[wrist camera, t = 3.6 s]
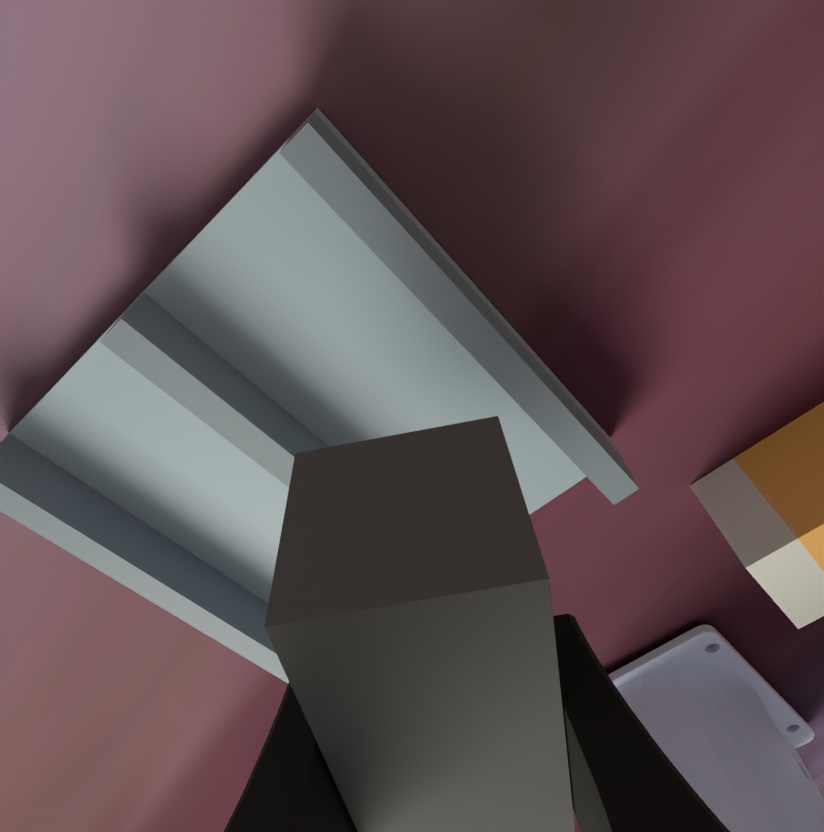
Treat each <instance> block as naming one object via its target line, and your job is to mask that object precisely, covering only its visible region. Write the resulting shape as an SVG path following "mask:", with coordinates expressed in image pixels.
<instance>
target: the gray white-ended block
mask: <svg viewBox="0 0 824 832" xmlns="http://www.w3.org/2000/svg"><path fill="white" fill-rule="evenodd" d="M264 627H265V630H266V632H267V634H268V636H269V638H270V641H271V643H272V645H273V647H274V649H275V652H276V654H277V656H278V658H279V660H280V663H281V665H282V667H283V669H284V671H285V674H286V676H287V678H288V680H289V682H290V684H291V687H292V689H293V691H294V693H295V695H296V698H297V700H298V702H299V704H300V706H301V709H302V711H303V713H304V715H305V717H306V720H307V722H308V724H309V726H310V728H311V730H312V733H313V735H314V737H315V739H316V741H317V744H318V746H319V748H320V750H321V752H322V755H323V757H324V759H325V761H326V763H327V766H328V768H329V770H330V772H331V774H332V777H333V779H334V781H335V783H336V785H337V787H338V790H339V792H340V794H341V796H342V798H343V801H344V803H345V805H346V807H347V809H348V812H349V814H350V816H351V818H352V820H353V823H354V825H355V827H356V829H357V831H358V832H575V825H574V816H573V806H572V796H571V786H570V776H569V767H568V757H567V747H566V737H565V727H564V718H563V708H562V698H561V688H560V678H559V669H558V659H557V649H556V639H555V629H554V620H553V610H552V600H551V590H550V580H549V576H548V573H547V570H546V566H545V563H544V560H543V557H542V554H541V551H540V547H539V544H538V541H537V538H536V535H535V532H534V528H533V525H532V522H531V519H530V516H529V513H528V509H527V506H526V503H525V500H524V497H523V494H522V490H521V487H520V484H519V481H518V478H517V474H516V471H515V468H514V465H513V462H512V459H511V455H510V452H509V449H508V446H507V443H506V440H505V436H504V433H503V430H502V427H501V424H500V421H499V417H498V416H494V417H489V418H483V419H478V420H473V421H467V422H462V423H456V424H451V425H445V426H440V427H435V428H429V429H424V430H418V431H413V432H408V433H402V434H397V435H391V436H386V437H380V438H375V439H370V440H364V441H359V442H353V443H348V444H343V445H337V446H332V447H326V448H321V449H315V450H310V451H305V452H299V453H295V457H294V463H293V468H292V474H291V480H290V485H289V491H288V497H287V502H286V508H285V514H284V519H283V525H282V530H281V536H280V542H279V547H278V553H277V559H276V564H275V570H274V575H273V581H272V587H271V592H270V598H269V604H268V609H267V615H266V621H265V626H264Z"/></svg>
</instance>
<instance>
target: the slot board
mask: <svg viewBox="0 0 824 832" xmlns="http://www.w3.org/2000/svg"><path fill="white" fill-rule="evenodd" d="M494 416H498V417H499V421H500V424H501V427H502V430H503V433H504V436H505V440H506V443H507V446H508V449H509V452H510V455H511V459H512V462H513V465H514V468H515V471H516V474H517V478H518V481H519V484H520V487H521V490H522V494H523V497H524V500H525V503H526V506H527V509H528V513H529V515H530V514H531V513H533V512H534V511H536V510H537V509H539V508H540V507H542V506H543V505H545V504H546V503H548V502H549V501H551V500H552V499H554V498H555V497H557V496H558V495H560V494H561V493H563V492H564V491H566V490H567V489H569V488H570V487H572V486H573V485H575V484H576V483H578V482H579V481H581V480H582V479H584V478H585V477H586V476H587V477H588V478H589V479H590V480H591V481H592V483H593V484H594V485H595V486H596V487H597V488H598V489H599V490H600V491H601V492H602V493H603V494H604V495H605V496H606V497H607V498H608V499H609V500H610V501H611V503H612V504H613V505H615V504H616V503H618V502H619V501H621V500H623V499H624V498H626V497H627V496H629V495H630V494H632V493H633V492H635V491H637V490H638V489H639V487H638V485H637V483H636V482H635V480H634V478H633V476H632V475H631V473H630V471H629V469H628V468H627V466H626V464H625V462H624V460H623V459H622V457H621V455H620V453H619V452H618V450H617V448H616V446H615V444H614V443H613V441H612V439H611V438H610V437H609V436H608V434H607V433H606V432H605V431H604V430H603V429H602V428H601V427H600V425H599V424H598V423H597V422H596V421H595V420H594V419H593V418H592V416H591V415H590V414H589V413H588V412H587V411H586V410H585V409H584V407H583V406H582V405H581V404H580V403H579V402H578V401H577V399H576V398H575V397H574V396H573V395H572V394H571V393H570V392H569V390H568V389H567V388H566V387H565V386H564V385H563V384H562V383H561V381H560V380H559V379H558V378H557V377H556V376H555V375H554V374H553V372H552V371H551V370H550V369H549V368H548V367H547V366H546V365H545V363H544V362H543V361H542V360H541V359H540V358H539V357H538V355H537V354H536V353H535V352H534V351H533V350H532V349H531V348H530V346H529V345H528V344H527V343H526V342H525V341H524V340H523V339H522V337H521V336H520V335H519V334H518V333H517V332H516V331H515V330H514V328H513V327H512V326H511V325H510V324H509V323H508V322H507V321H506V319H505V318H504V317H503V316H502V315H501V314H500V313H499V311H498V310H497V309H496V308H495V307H494V306H493V305H492V304H491V302H490V301H489V300H488V299H487V298H486V297H485V296H484V295H483V293H482V292H481V291H480V290H479V289H478V288H477V287H476V286H475V284H474V283H473V282H472V281H471V280H470V279H469V278H468V277H467V275H466V274H465V273H464V272H463V271H462V270H461V269H460V268H459V266H458V265H457V264H456V263H455V262H454V261H453V260H452V258H451V257H450V256H449V255H448V254H447V253H446V252H445V251H444V249H443V248H442V247H441V246H440V245H439V244H438V243H437V242H436V240H435V239H434V238H433V237H432V236H431V235H430V234H429V233H428V231H427V230H426V229H425V228H424V227H423V226H422V225H421V224H420V222H419V221H418V220H417V219H416V218H415V217H414V216H413V214H412V213H411V212H410V211H409V210H408V209H407V208H406V207H405V205H404V204H403V203H402V202H401V201H400V200H399V199H398V198H397V196H396V195H395V194H394V193H393V192H392V191H391V190H390V189H389V187H388V186H387V185H386V184H385V183H384V182H383V181H382V180H381V178H380V177H379V176H378V175H377V174H376V173H375V172H374V171H373V169H372V168H371V167H370V166H369V165H368V164H367V163H366V161H365V160H364V159H363V158H362V157H361V156H360V155H359V154H358V152H357V151H356V150H355V149H354V148H353V147H352V146H351V145H350V143H349V142H348V141H347V140H346V139H345V138H344V137H343V136H342V134H341V133H340V132H339V131H338V130H337V129H336V128H335V127H334V125H333V124H332V123H331V122H330V121H329V120H328V119H327V117H326V116H325V115H324V114H323V113H322V112H321V111H320V110H319V108H318V107H317V109H316V110H315V111H314V112H313V113H312V114H311V115H310V116H309V117H308V118H307V119H306V120H305V121H304V122H303V123H302V124H301V125H300V126H299V127H298V129H297V130H296V131H295V132H294V133H293V134H292V135H291V136H290V137H289V138H288V139H287V140H286V141H285V142H284V143H283V144H282V145H281V146H280V148H279V149H278V150H277V151H276V152H275V153H274V154H273V155H272V156H271V157H270V158H269V159H268V160H267V161H266V162H265V163H264V164H263V165H262V166H261V168H260V169H259V170H258V171H257V172H256V173H255V174H254V175H253V176H252V177H251V178H250V179H249V180H248V181H247V182H246V183H245V184H244V185H243V187H242V188H241V189H240V190H239V191H238V192H237V193H236V194H235V195H234V196H233V197H232V198H231V199H230V200H229V201H228V202H227V203H226V204H225V205H224V207H223V208H222V209H221V210H220V211H219V212H218V213H217V214H216V215H215V216H214V217H213V218H212V219H211V220H210V221H209V222H208V223H207V224H206V226H205V227H204V228H203V229H202V230H201V231H200V232H199V233H198V234H197V235H196V236H195V237H194V238H193V239H192V240H191V241H190V242H189V243H188V245H187V246H186V247H185V248H184V249H183V250H182V251H181V252H180V253H179V254H178V255H177V256H176V257H175V258H174V259H173V260H172V261H171V262H170V263H169V265H168V266H167V267H166V268H165V269H164V270H163V271H162V272H161V273H160V274H159V275H158V276H157V277H156V278H155V279H154V280H153V281H152V282H151V284H150V285H149V286H148V287H147V288H146V289H145V290H144V291H143V292H142V293H141V294H140V295H139V296H138V297H137V298H136V299H135V300H134V301H133V302H132V304H131V305H130V306H129V307H128V308H127V309H126V310H125V311H124V312H123V313H122V314H121V315H120V316H119V317H118V318H117V319H116V320H115V321H114V323H113V324H112V325H111V326H110V327H109V328H108V329H107V330H106V331H105V332H104V333H103V334H102V335H101V336H100V337H99V338H98V339H97V340H96V341H95V343H94V344H93V345H92V346H91V347H90V348H89V349H88V350H87V351H86V352H85V353H84V354H83V355H82V356H81V357H80V358H79V359H78V360H77V362H76V363H75V364H74V365H73V366H72V367H71V368H70V369H69V370H68V371H67V372H66V373H65V374H64V375H63V376H62V377H61V378H60V379H59V381H58V382H57V383H56V384H55V385H54V386H53V387H52V388H51V389H50V390H49V391H48V392H47V393H46V394H45V395H44V396H43V397H42V398H41V399H40V401H39V402H38V403H37V404H36V405H35V406H34V407H33V408H32V409H31V410H30V411H29V412H28V413H27V414H26V415H25V416H24V417H23V418H22V420H21V421H20V422H19V423H18V424H17V425H16V426H15V427H14V428H13V429H12V430H11V431H10V432H9V433H8V434H7V435H6V437H5V438H4V439H3V440H2V441H1V442H0V511H1V512H3V513H4V514H6V515H8V516H9V517H11V518H13V519H14V520H16V521H18V522H19V523H21V524H23V525H24V526H26V527H28V528H29V529H31V530H33V531H34V532H36V533H38V534H39V535H41V536H43V537H44V538H46V539H48V540H49V541H51V542H53V543H54V544H56V545H58V546H59V547H61V548H63V549H64V550H66V551H68V552H69V553H71V554H73V555H74V556H76V557H78V558H79V559H81V560H83V561H84V562H86V563H88V564H90V565H91V566H93V567H95V568H96V569H98V570H100V571H101V572H103V573H105V574H106V575H108V576H110V577H111V578H113V579H115V580H116V581H118V582H120V583H121V584H123V585H125V586H126V587H128V588H130V589H131V590H133V591H135V592H136V593H138V594H140V595H141V596H143V597H145V598H146V599H148V600H150V601H151V602H153V603H155V604H156V605H158V606H160V607H161V608H163V609H165V610H166V611H168V612H170V613H171V614H173V615H175V616H176V617H178V618H180V619H181V620H183V621H185V622H186V623H188V624H190V625H191V626H193V627H195V628H196V629H198V630H200V631H201V632H203V633H205V634H206V635H208V636H210V637H211V638H213V639H215V640H216V641H218V642H220V643H221V644H223V645H225V646H226V647H228V648H230V649H231V650H233V651H235V652H236V653H238V654H240V655H241V656H243V657H245V658H247V659H248V660H250V661H252V662H253V663H255V664H257V665H258V666H260V667H262V668H263V669H265V670H267V671H268V672H270V673H272V674H273V675H275V676H277V677H278V678H280V679H282V680H283V681H285V682H287V683H289V680H288V678H287V676H286V674H285V671H284V669H283V667H282V665H281V663H280V660H279V658H278V656H277V654H276V652H275V649H274V647H273V645H272V643H271V641H270V638H269V636H268V634H267V632H266V630H265V627H264V626H265V621H266V615H267V609H268V604H269V598H270V592H271V587H272V581H273V575H274V570H275V564H276V559H277V553H278V547H279V542H280V536H281V530H282V525H283V519H284V514H285V508H286V502H287V497H288V491H289V485H290V480H291V474H292V468H293V463H294V457H295V453H299V452H305V451H310V450H315V449H321V448H326V447H332V446H337V445H343V444H348V443H353V442H359V441H364V440H370V439H375V438H380V437H386V436H391V435H397V434H402V433H408V432H413V431H418V430H424V429H429V428H435V427H440V426H445V425H451V424H456V423H462V422H467V421H473V420H478V419H483V418H489V417H494Z"/></svg>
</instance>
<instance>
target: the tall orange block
mask: <svg viewBox="0 0 824 832" xmlns="http://www.w3.org/2000/svg"><path fill="white" fill-rule="evenodd" d="M690 487H691V488H692V490H693V491H694V493H695V494H696V496H697V497H698V499H699V500H700V502H701V503H702V504H703V506H704V507H705V509H706V510H707V512H708V513H709V515H710V516H711V518H712V519H713V521H714V522H715V524H716V525H717V527H718V528H719V530H720V531H721V533H722V534H723V536H724V537H725V538H726V540H727V541H728V543H729V544H730V546H731V547H732V549H733V550H734V552H735V553H736V555H737V556H738V558H739V559H740V561H741V562H742V564H743V565H744V567H745V568H746V569H747V570H748V572H749V573H750V574H751V575H752V576H753V577H754V578H755V580H756V581H757V582H758V583H759V584H760V585H761V587H762V588H763V589H764V590H765V591H766V592H767V594H768V595H769V596H770V597H771V598H772V599H773V601H774V602H775V603H776V604H777V605H778V606H779V607H780V609H781V610H782V611H783V612H784V613H785V614H786V616H787V617H788V618H789V619H790V620H791V621H792V623H793V624H794V625H795V626H796V627H797V628H798V629H800V628H802V627H804V626H806V625H808V624H809V623H811V622H813V621H815V620H817V619H819V618H821V617H823V616H824V402H822V403H821V404H819V405H818V406H816V407H814V408H813V409H811V410H810V411H808V412H807V413H805V414H803V415H802V416H800V417H799V418H797V419H795V420H794V421H792V422H791V423H789V424H787V425H786V426H784V427H783V428H781V429H779V430H778V431H776V432H775V433H773V434H771V435H770V436H768V437H767V438H765V439H763V440H762V441H760V442H759V443H757V444H755V445H754V446H752V447H751V448H749V449H747V450H746V451H744V452H743V453H741V454H739V455H738V456H736V457H735V458H733V459H731V460H730V461H728V462H727V463H725V464H723V465H722V466H720V467H719V468H717V469H716V470H714V471H712V472H711V473H709V474H708V475H706V476H704V477H703V478H701V479H700V480H698V481H696V482H695V483H693V484H692V485H690Z"/></svg>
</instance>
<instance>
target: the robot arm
mask: <svg viewBox="0 0 824 832" xmlns="http://www.w3.org/2000/svg"><path fill="white" fill-rule="evenodd" d="M553 620H554V629H555V639H556V649H557V659H558V669H559V678H560V688H561V698H562V708H563V718H564V727H565V737H566V747H567V757H568V767H569V776H570V786H571V796H572V805H573V808H574V811H575V815H576V818H577V821H578V824H579V827H580V830H581V832H824V798H823V797H822V795H821V793H820V791H819V790H818V788H817V786H816V784H815V783H814V781H813V779H812V778H811V776H810V774H809V772H808V771H807V769H806V767H805V765H804V764H803V762H802V760H801V758H800V757H799V755H798V753H797V751H796V750H795V748H797V747H800V746H802V745H804V744H806V743H808V742H810V741H811V740H812V739H813V738H814V735H815V734H814V732H813V730H812V729H811V727H810V726H809V725H808V724H807V722H806V721H805V720H804V719H803V718H802V717H801V716H800V715H799V714H798V713H797V712H796V711H795V710H794V709H793V708H792V707H791V706H790V705H789V704H788V703H787V702H786V701H785V700H784V699H783V698H782V697H781V696H780V695H779V694H778V693H777V692H776V691H775V690H774V689H773V688H772V687H771V685H770V684H769V683H768V682H767V681H766V680H765V679H764V678H763V677H762V676H761V675H760V674H759V673H758V672H757V671H756V670H755V669H754V668H753V667H752V666H751V665H750V664H749V663H748V662H747V661H746V660H745V659H744V658H743V657H742V656H741V655H740V654H739V653H738V652H737V651H736V650H735V648H734V647H733V646H732V645H731V644H730V643H729V642H728V641H727V640H726V639H725V638H724V637H723V636H722V635H721V634H720V633H719V632H718V631H717V630H716V629H715V628H714V627H712V626H711V625H699V626H697V627H695V628H693V629H691V630H689V631H687V632H685V633H684V634H682V635H680V636H678V637H676V638H674V639H673V640H671V641H669V642H667V643H665V644H663V645H662V646H660V647H658V648H656V649H654V650H652V651H651V652H649V653H647V654H645V655H643V656H641V657H640V658H638V659H636V660H634V661H632V662H631V663H629V664H627V665H625V666H623V667H621V668H620V669H618V670H616V671H614V672H612V673H610V674H609V675H608V674H607V673H606V671H605V669H604V668H603V666H602V665H601V663H600V662H599V660H598V658H597V657H596V655H595V654H594V652H593V650H592V648H591V647H590V645H589V643H588V642H587V640H586V638H585V636H584V634H583V633H582V631H581V629H580V627H579V625H578V623H577V621H576V619H575V617H573V616H571V615H570V614H563V615H557V616H553ZM224 832H358V831H357V829H356V827H355V825H354V823H353V820H352V818H351V816H350V814H349V812H348V809H347V807H346V805H345V803H344V801H343V798H342V796H341V794H340V792H339V790H338V787H337V785H336V783H335V781H334V779H333V777H332V774H331V772H330V770H329V768H328V766H327V763H326V761H325V759H324V757H323V755H322V752H321V750H320V748H319V746H318V744H317V741H316V739H315V737H314V735H313V733H312V730H311V728H310V726H309V724H308V722H307V720H306V717H305V715H304V713H303V711H302V709H301V706H300V704H299V702H298V700H297V698H296V695H295V693H294V691H293V689H292V687H291V684H290V682H289V683H288V686H287V689H286V691H285V694H284V697H283V699H282V702H281V705H280V707H279V710H278V712H277V715H276V717H275V720H274V722H273V725H272V727H271V730H270V732H269V734H268V737H267V739H266V742H265V744H264V746H263V749H262V751H261V753H260V755H259V758H258V760H257V762H256V764H255V767H254V769H253V771H252V773H251V776H250V778H249V780H248V782H247V785H246V787H245V789H244V791H243V793H242V796H241V798H240V800H239V802H238V804H237V806H236V808H235V810H234V812H233V814H232V816H231V818H230V820H229V822H228V824H227V826H226V828H225V830H224Z"/></svg>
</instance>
